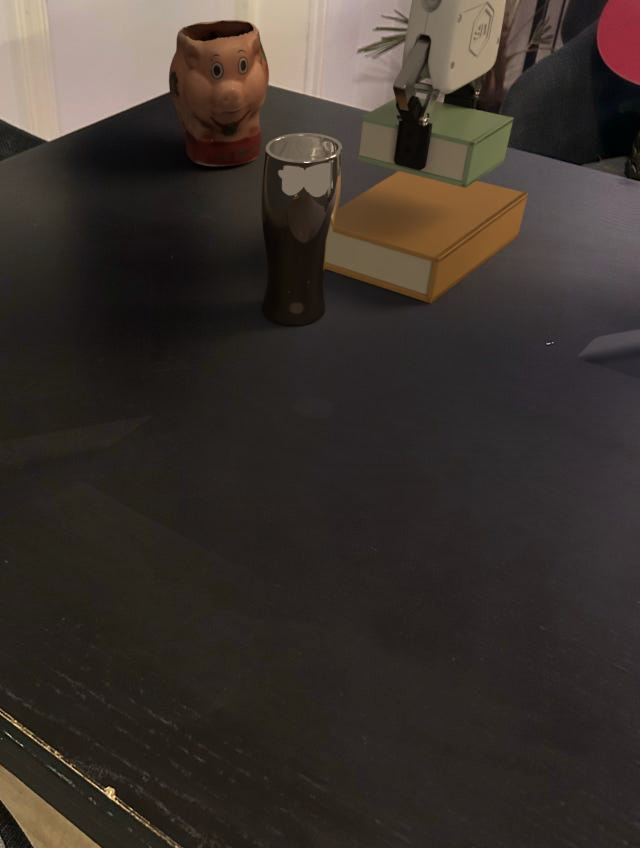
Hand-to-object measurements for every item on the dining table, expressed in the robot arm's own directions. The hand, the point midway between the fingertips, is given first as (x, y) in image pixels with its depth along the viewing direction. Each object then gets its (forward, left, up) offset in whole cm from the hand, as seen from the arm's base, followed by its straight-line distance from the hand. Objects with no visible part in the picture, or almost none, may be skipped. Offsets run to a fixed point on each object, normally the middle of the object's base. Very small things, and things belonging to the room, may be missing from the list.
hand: (431, 151), depth 89 cm
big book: (0, 0, -10) cm, 10 cm away
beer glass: (+3, +18, -10) cm, 21 cm away
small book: (0, 0, -1) cm, 1 cm away
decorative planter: (+35, -10, -10) cm, 38 cm away
